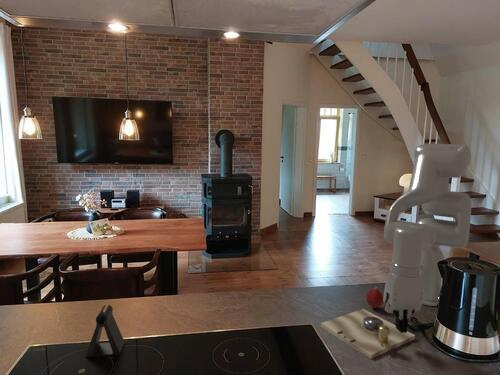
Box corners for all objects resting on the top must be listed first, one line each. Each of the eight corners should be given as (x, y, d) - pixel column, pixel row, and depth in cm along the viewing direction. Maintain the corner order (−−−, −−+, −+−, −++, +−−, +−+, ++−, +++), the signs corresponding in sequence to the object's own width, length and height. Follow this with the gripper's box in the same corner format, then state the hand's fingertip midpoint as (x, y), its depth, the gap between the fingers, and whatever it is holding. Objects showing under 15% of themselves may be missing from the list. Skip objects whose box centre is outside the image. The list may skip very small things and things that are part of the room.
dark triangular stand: (124, 342, 103) (123, 304, 101) (119, 355, 97) (118, 314, 95) (92, 344, 102) (90, 305, 100) (85, 357, 96) (83, 315, 94)
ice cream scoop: (361, 320, 115) (361, 306, 114) (379, 321, 114) (380, 307, 114) (375, 348, 99) (376, 332, 98) (397, 349, 99) (398, 333, 98)
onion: (364, 309, 126) (365, 288, 125) (367, 303, 131) (368, 282, 130) (381, 313, 123) (383, 291, 122) (383, 306, 128) (385, 285, 127)
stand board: (363, 312, 124) (363, 308, 124) (414, 339, 107) (415, 334, 107) (320, 326, 114) (320, 322, 113) (370, 359, 97) (371, 354, 96)
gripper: (420, 264, 105) (416, 322, 107) (374, 266, 103) (371, 325, 105) (438, 273, 98) (432, 335, 100) (389, 275, 96) (384, 339, 98)
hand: (401, 330), depth 102 cm, fingers closed
